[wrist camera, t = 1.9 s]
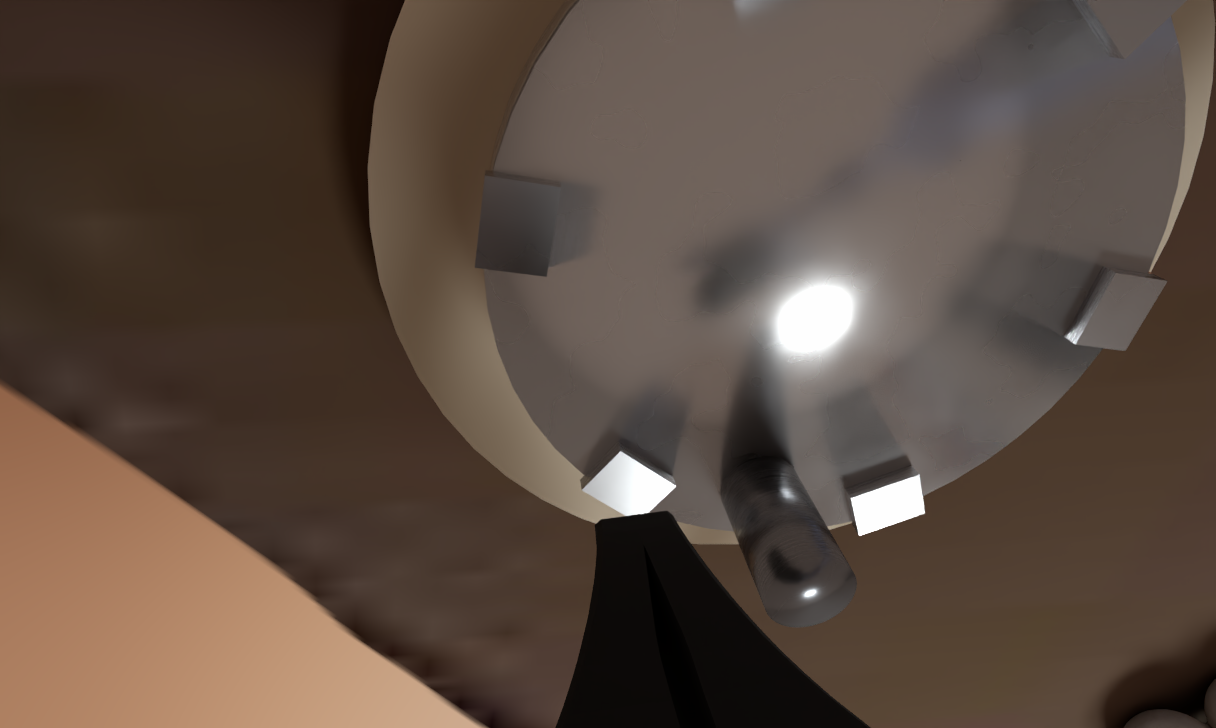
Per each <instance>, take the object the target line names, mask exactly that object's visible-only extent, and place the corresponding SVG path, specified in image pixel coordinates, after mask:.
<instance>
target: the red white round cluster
mask: <svg viewBox="0 0 1216 728" xmlns="http://www.w3.org/2000/svg"><path fill="white" fill-rule="evenodd" d="M1204 710H1205V714H1206V717H1207V720H1208V722H1207V723H1206V724H1204V723H1202V722H1200V721H1198V720H1197V719H1195V718H1193V717H1191V716H1188V715H1186V714H1183V713H1181V712H1177V711H1173V710H1166V709H1154V710H1148V711H1145V712H1141V713H1139V714H1137V715H1136V716H1134V717H1133V718H1131V719H1130V720H1129V721H1128V722H1127V723H1126V725H1125V726H1124V728H1216V679H1215V680H1214V681H1213V682H1212V683H1211V684H1210V686H1209V688H1208V689H1207V692H1206V695H1205V702H1204Z"/></svg>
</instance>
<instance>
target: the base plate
mask: <svg viewBox="0 0 1216 728" xmlns="http://www.w3.org/2000/svg"><path fill="white" fill-rule="evenodd" d="M565 1H566V0H405V2H404V4H403V7H402V10H401V12H400V15H399V17H398V20H397V22H396V25H395V27H394V30H393V32H392V35H391V37H390V41H389V45H388V49H387V53H386V57H385V61H384V65H383V70H382V74H381V78H380V82H379V86H378V90H377V94H376V98H375V102H374V110H373V120H372V129H371V139H370V149H369V159H368V191H369V219H370V231H371V236H372V242H373V248H374V253H375V259H376V265H377V270H378V276H379V282H380V285H381V288H382V291H383V294H384V297H385V300H386V303H387V306H388V309H389V312H390V315H391V318H392V321H393V325H394V328H395V331H396V333H397V335H398V337H399V339H400V341H401V343H402V345H403V347H404V349H405V351H406V353H407V355H408V358H409V360H410V362H411V364H412V366H413V368H414V370H415V372H416V374H417V376H418V377H419V379H420V380H421V382H422V383H423V385H424V386H425V388H426V389H427V391H428V392H429V394H430V395H431V397H432V398H433V400H434V401H435V403H436V404H437V406H438V407H439V409H440V410H441V411H442V413H443V414H444V416H445V417H446V418H447V419H448V420H449V421H450V422H451V424H452V425H453V426H454V427H455V428H456V429H457V430H458V431H459V432H460V434H461V435H462V436H463V437H464V438H465V439H466V440H467V441H468V442H469V444H470V445H471V446H472V447H473V448H474V449H475V450H476V451H477V452H479V453H480V454H481V455H482V456H483V457H484V458H486V459H487V460H488V461H489V462H490V463H491V464H493V465H494V466H495V467H496V468H497V469H499V470H500V471H501V472H502V473H503V474H504V475H506V476H507V477H508V478H510V479H511V480H513V481H514V482H516V483H517V484H519V485H521V486H522V487H524V488H525V489H527V490H528V491H530V492H531V493H533V494H534V495H536V496H537V497H539V498H541V499H542V500H544V501H546V502H548V503H550V504H552V505H554V506H556V507H558V508H561V509H563V510H565V511H567V512H569V513H571V514H573V515H575V516H577V517H579V518H582V519H585V520H588V521H590V522H593V523H596V524H597V523H598V522H599V521H600V520H601V519H607V518H615V517H622V516H625V515H623V514H621V513H620V512H618V511H616V510H614V509H613V508H611V507H609V506H608V505H606V504H604V503H602V502H601V501H599V500H597V499H596V498H594V497H592V496H591V495H589V494H587V493H585V492H584V491H582V489H581V483H580V479H581V478H582V477H583V476H584V475H583V474H582V473H581V472H580V471H579V470H578V469H577V468H575V467H574V466H573V465H572V464H571V463H570V462H569V461H568V460H567V459H566V458H565V457H564V456H562V455H561V454H560V453H559V452H558V451H557V450H556V449H555V448H554V447H553V445H552V444H551V443H550V442H549V440H548V439H547V438H546V437H545V436H544V434H543V433H542V432H541V431H540V429H539V428H538V427H537V426H536V424H535V423H534V422H533V421H532V419H531V417H530V416H529V414H528V412H527V411H526V409H525V407H524V406H523V404H522V402H521V401H520V399H519V397H518V396H517V394H516V392H515V390H514V389H513V387H512V384H511V382H510V379H509V377H508V375H507V372H506V370H505V367H504V365H503V362H502V360H501V358H500V355H499V353H498V350H497V346H496V342H495V338H494V334H493V330H492V326H491V321H490V317H489V313H488V309H487V299H486V288H485V278H484V269H480V268H475V258H476V249H477V240H478V231H479V222H480V213H481V204H482V194H483V185H484V176H485V170H489V171H490V168H491V162H492V157H493V151H494V146H495V141H496V138H497V135H498V132H499V129H500V126H501V123H502V120H503V117H504V113H505V110H506V107H507V104H508V101H509V98H510V95H511V93H512V91H513V89H514V87H515V85H516V83H517V81H518V79H519V76H520V74H521V72H522V70H523V68H524V66H525V64H526V62H527V60H528V58H529V55H530V53H531V51H532V50H533V48H534V47H535V45H536V43H537V42H538V40H539V39H540V37H541V36H542V34H543V33H544V31H545V30H546V28H547V26H548V25H549V23H550V22H551V20H552V19H553V17H554V16H555V14H556V13H557V11H558V9H559V8H560V6H561V5H562V4H563V3H564V2H565ZM1171 19H1172V22H1173V26H1174V29H1175V33H1176V36H1177V40H1178V44H1179V47H1180V52H1181V60H1182V69H1183V77H1184V85H1185V94H1186V104H1185V142H1184V149H1183V155H1182V162H1181V168H1180V175H1179V181H1178V187H1177V190H1176V194H1175V198H1174V201H1173V205H1172V209H1171V212H1170V216H1169V219H1168V223H1167V227H1166V230H1165V232H1164V235H1163V237H1162V240H1161V242H1160V245H1159V247H1158V250H1157V252H1156V255H1155V257H1154V260H1153V262H1152V265H1151V267H1150V270H1149V272H1148V273H1150V274H1152V273H1151V271H1152V269H1153V267H1154V265H1155V263H1156V261H1157V259H1158V257H1159V255H1160V253H1161V251H1162V250H1163V248H1164V246H1165V244H1166V242H1167V240H1168V238H1169V236H1170V233H1171V231H1172V228H1173V226H1174V223H1175V221H1176V218H1177V216H1178V213H1179V211H1180V208H1181V206H1182V203H1183V201H1184V198H1185V196H1186V193H1187V191H1188V188H1189V185H1190V181H1191V178H1192V174H1193V171H1194V167H1195V164H1196V160H1197V157H1198V153H1199V150H1200V146H1201V143H1202V139H1203V136H1204V130H1205V124H1206V118H1207V112H1208V105H1209V99H1210V93H1211V87H1212V81H1213V60H1214V35H1215V18H1214V7H1213V0H1187V1H1186V2H1185V3H1184V4H1183V5H1182V6H1181V7H1180V8H1178V9H1177V10H1176V11H1175V12H1174V13H1173V14H1172V15H1171ZM649 513H651V512H649ZM677 523H678V525H679V526H680V528H681V529H682V531H683V533H684V534H685V536H686V537H687V539H688V540H689V542H690V543H693V544H739V543H738V541H737V538H736V536H735V533H734V532H733V531H725V530H716V529H707V528H703V527H699V526H694V525H690V524H685V523H681V522H677ZM850 523H852V521H851V522H847V523H842V524H837V525H832V526H827V527H828V529H829V530H830V529H833V528H837V527H840V526H843V525H847V524H850Z"/></svg>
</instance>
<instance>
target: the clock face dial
mask: <svg viewBox="0 0 1216 728" xmlns="http://www.w3.org/2000/svg"><path fill="white" fill-rule="evenodd" d="M1186 1H1187V0H566V1H565V2H564V3H563V4H562V5H561V6H560V8H559V9H558V11H557V13H556V14H555V16H554V17H553V19H552V20H551V22H550V23H549V25H548V26H547V28H546V30H545V31H544V33H543V34H542V36H541V37H540V39H539V40H538V42H537V43H536V45H535V47H534V48H533V50H532V51H531V53H530V55H529V58H528V60H527V62H526V64H525V66H524V68H523V70H522V72H521V74H520V76H519V79H518V81H517V83H516V85H515V87H514V89H513V91H512V93H511V95H510V98H509V101H508V104H507V107H506V110H505V113H504V117H503V120H502V123H501V126H500V129H499V132H498V135H497V138H496V141H495V146H494V151H493V157H492V162H491V168H490V171H489V170H485V176H484V185H483V194H482V204H481V213H480V222H479V231H478V240H477V249H476V258H475V268H480V269H484V278H485V288H486V299H487V309H488V313H489V317H490V321H491V326H492V330H493V334H494V338H495V342H496V346H497V350H498V353H499V355H500V358H501V360H502V362H503V365H504V367H505V370H506V372H507V375H508V377H509V379H510V382H511V384H512V387H513V389H514V390H515V392H516V394H517V396H518V397H519V399H520V401H521V402H522V404H523V406H524V407H525V409H526V411H527V412H528V414H529V416H530V417H531V419H532V421H533V422H534V423H535V424H536V426H537V427H538V428H539V429H540V431H541V432H542V433H543V434H544V436H545V437H546V438H547V439H548V440H549V442H550V443H551V444H552V445H553V447H554V448H555V449H556V450H557V451H558V452H559V453H560V454H561V455H562V456H564V457H565V458H566V459H567V460H568V461H569V462H570V463H571V464H572V465H573V466H574V467H575V468H577V469H578V470H579V471H580V472H581V473H582V474H583V475H584V476H583V477H582V478H581V479H580V483H581V489H582V491H584V492H585V493H587V494H589V495H591V496H592V497H594V498H596V499H597V500H599V501H601V502H602V503H604V504H606V505H608V506H609V507H611V508H613V509H614V510H616V511H618V512H620V513H621V514H623V515H625V516H630V515H637V514H645V513H649V512H651V513H652V512H659V511H668V512H670V513H671V514H672V515H673V516H674V518H675V520H676V521H677V522H681V523H685V524H690V525H694V526H699V527H703V528H707V529H716V530H725V531H733V532H734V533H735V536H736V538H737V541H738V543H739V545H740V548H741V550H742V553H743V555H744V558H745V560H746V563H747V565H748V568H749V570H750V573H751V575H752V578H753V580H754V583H755V585H756V587H757V590H758V592H759V595H760V597H761V600H762V602H763V605H764V607H765V610H766V612H767V614H768V615H769V617H770V618H771V619H772V620H774V621H775V622H777V623H779V624H781V625H784V626H789V627H807V626H812V625H816V624H819V623H822V622H824V621H826V620H829V619H830V618H832V617H834V616H835V615H837V614H838V613H840V612H841V611H842V610H843V609H844V608H845V607H846V606H847V605H848V604H849V602H850V601H851V600H852V598H853V596H854V594H855V591H856V584H857V582H856V577H855V575H854V573H853V571H852V569H851V568H850V566H849V564H848V562H847V561H846V559H845V557H844V555H843V554H842V552H841V550H840V548H839V546H838V545H837V543H836V541H835V539H834V538H833V536H832V534H831V532H830V531H829V529H828V527H827V526H832V525H837V524H842V523H847V522H851V521H852V525H853V527H854V528H855V530H856V532H857V533H858V535H859V536H860V535H863V534H866V533H869V532H872V531H875V530H878V529H881V528H883V527H886V526H889V525H892V524H895V523H898V522H901V521H904V520H907V519H910V518H912V517H915V516H918V515H921V514H924V513H925V510H924V503H923V496H924V495H926V494H928V493H930V492H932V491H934V490H936V489H938V488H940V487H942V486H944V485H946V484H948V483H950V482H952V481H954V480H955V479H957V478H959V477H960V476H962V475H963V474H965V473H967V472H968V471H970V470H971V469H973V468H975V467H976V466H978V465H980V464H981V463H983V462H984V461H986V460H988V459H989V458H990V457H992V456H993V455H994V454H996V453H997V452H998V451H1000V450H1001V449H1002V448H1004V447H1005V446H1007V445H1008V444H1009V443H1011V442H1012V441H1013V440H1015V439H1016V438H1017V437H1019V436H1020V435H1021V434H1022V433H1023V432H1024V431H1026V430H1027V429H1028V428H1029V427H1030V426H1031V425H1032V424H1034V423H1035V422H1036V421H1037V420H1038V419H1039V418H1040V417H1041V416H1043V415H1044V414H1045V413H1046V412H1047V411H1048V410H1049V409H1050V408H1051V407H1052V406H1053V405H1054V404H1055V403H1056V402H1057V401H1058V400H1059V399H1060V398H1061V397H1062V396H1063V395H1064V394H1065V393H1066V392H1067V391H1068V390H1069V388H1070V387H1071V386H1072V385H1073V384H1074V383H1075V382H1076V381H1077V380H1078V379H1079V378H1080V377H1081V375H1082V374H1083V373H1084V372H1085V370H1086V369H1087V368H1088V367H1089V365H1090V364H1091V363H1092V361H1093V360H1094V359H1095V358H1096V356H1097V355H1098V354H1099V353H1100V351H1101V350H1102V349H1103V348H1107V349H1115V350H1123V351H1126V349H1127V347H1128V346H1129V344H1130V342H1131V341H1132V339H1133V337H1134V336H1135V334H1136V332H1137V331H1138V329H1139V327H1140V326H1141V324H1142V322H1143V321H1144V319H1145V317H1146V316H1147V314H1148V312H1149V311H1150V309H1151V307H1152V306H1153V304H1154V302H1155V301H1156V299H1157V297H1158V296H1159V294H1160V292H1161V291H1162V289H1163V287H1164V286H1165V284H1166V283H1167V280H1164V279H1162V278H1160V277H1158V276H1156V275H1154V274H1150V273H1148V272H1149V270H1150V267H1151V265H1152V262H1153V260H1154V257H1155V255H1156V252H1157V250H1158V247H1159V245H1160V242H1161V240H1162V237H1163V235H1164V232H1165V230H1166V227H1167V223H1168V219H1169V216H1170V212H1171V209H1172V205H1173V201H1174V198H1175V194H1176V190H1177V187H1178V181H1179V175H1180V168H1181V162H1182V155H1183V149H1184V142H1185V104H1186V94H1185V85H1184V77H1183V69H1182V60H1181V52H1180V47H1179V44H1178V40H1177V36H1176V33H1175V29H1174V26H1173V22H1172V19H1171V15H1172V14H1173V13H1174V12H1175V11H1176V10H1177V9H1178V8H1180V7H1181V6H1182V5H1183V4H1184V3H1185V2H1186Z"/></svg>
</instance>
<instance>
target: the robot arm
mask: <svg viewBox="0 0 1216 728" xmlns="http://www.w3.org/2000/svg"><path fill="white" fill-rule="evenodd" d="M595 532H596V544H597V556H596V569H595V579H594V585H593V591H592V597H591V603H590V609H589V615H588V620H587V624H586V628H585V632H584V636H583V640H582V645H581V649H580V653H579V657H578V661H577V664H576V668H575V671H574V675H573V678H572V681H571V684H570V688H569V691H568V694H567V697H566V700H565V703H564V706H563V709H562V712H561V714H560V717H559V720H558V722H557V725H556V728H870V727H869V726H868V725H867V724H865V723H864V722H863V721H862V720H860V719H859V718H858V717H856V716H855V715H854V714H853V713H851V712H850V711H849V710H848V709H846V708H845V707H844V706H843V705H841V704H840V703H839V702H837V701H836V700H835V699H834V698H832V697H831V696H830V695H829V694H828V693H827V692H826V691H824V690H823V689H822V688H821V687H820V686H819V685H818V684H816V683H815V682H814V681H813V680H812V679H811V678H810V677H809V676H807V675H806V674H805V673H804V672H803V671H802V670H801V669H800V668H799V667H798V666H797V665H796V664H795V663H793V662H792V661H791V660H790V659H789V658H788V657H787V656H786V655H785V654H784V653H783V652H782V651H781V650H780V649H779V648H778V647H777V646H776V645H775V644H774V643H773V642H772V641H771V640H770V639H769V638H768V637H767V636H766V635H765V634H764V633H763V632H762V630H761V629H760V628H759V627H758V626H757V625H756V624H755V623H754V622H753V621H752V620H751V618H750V617H749V616H748V615H747V614H746V613H745V612H744V611H743V609H742V608H741V607H740V606H739V605H738V604H737V603H736V601H735V600H734V599H733V598H732V597H731V595H730V594H729V593H728V592H727V590H726V589H725V588H724V587H723V586H722V584H721V583H720V582H719V581H718V579H717V578H716V577H715V576H714V574H713V573H712V572H711V571H710V569H709V568H708V567H707V565H706V564H705V563H704V561H703V560H702V558H701V557H700V556H699V554H698V553H697V552H696V550H695V549H694V547H693V546H692V544H691V543H690V542H689V540H688V539H687V537H686V536H685V534H684V533H683V531H682V529H681V528H680V526H679V525H678V523H677V521H676V520H675V518H674V516H673V515H672V514H671V513H670V512H668V511H659V512H652V513H645V514H637V515H630V516H622V517H615V518H607V519H601V520H600V521H599V522H598V523H597V524H595Z"/></svg>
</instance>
